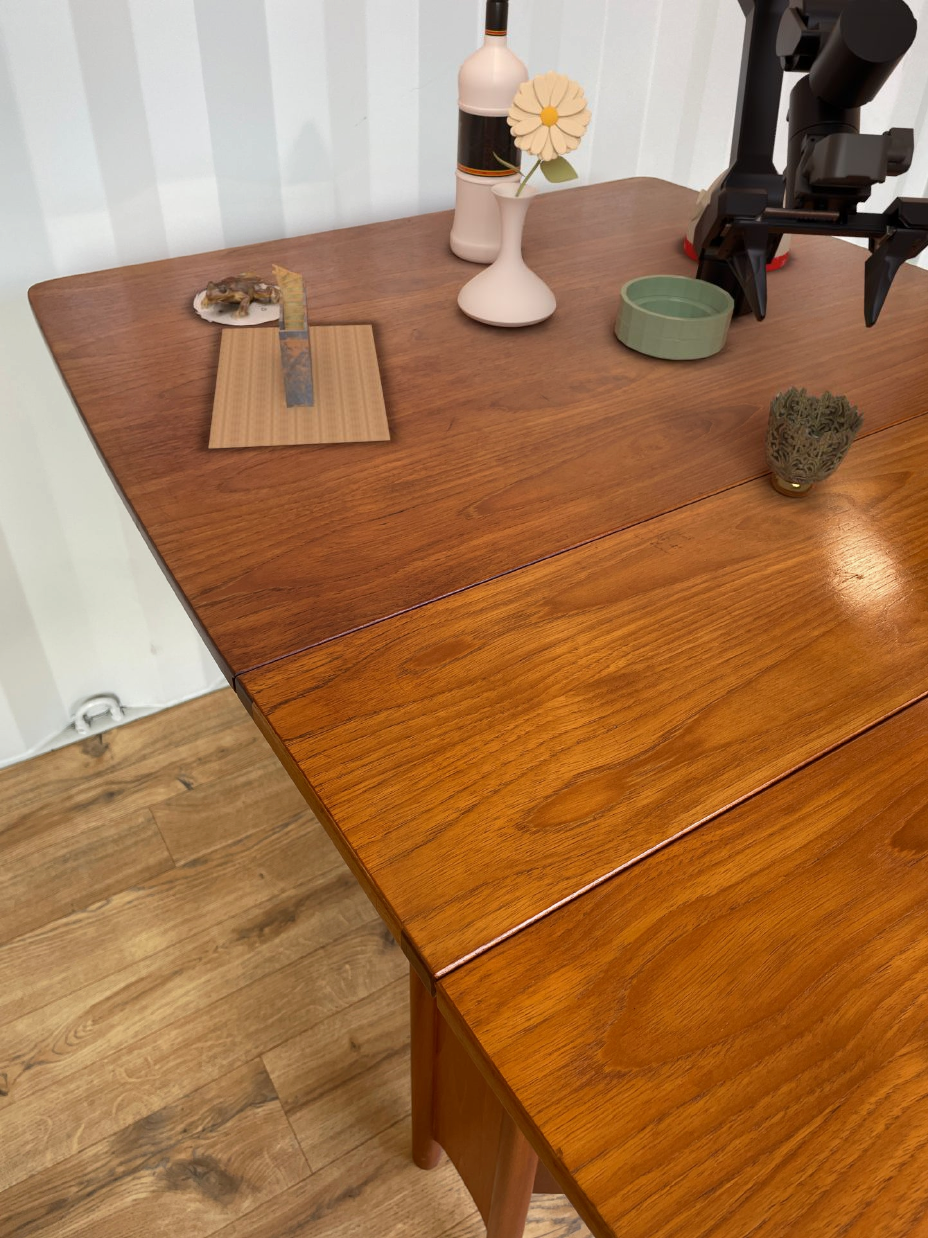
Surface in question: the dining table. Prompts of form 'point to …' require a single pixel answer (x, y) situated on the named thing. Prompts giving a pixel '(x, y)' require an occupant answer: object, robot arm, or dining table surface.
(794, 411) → the cup
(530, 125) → the flower in vase
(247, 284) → the frog figurine
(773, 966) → the dining table surface
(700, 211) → the kitchen timer
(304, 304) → the ruin model on sheet
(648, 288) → the bowl
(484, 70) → the vodka
